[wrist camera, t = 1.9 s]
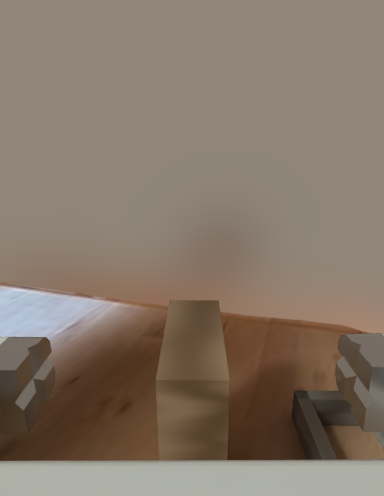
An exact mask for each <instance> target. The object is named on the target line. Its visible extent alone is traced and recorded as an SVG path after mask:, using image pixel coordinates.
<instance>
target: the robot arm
mask: <svg viewBox="0 0 384 496" xmlns="http://www.w3.org/2000/svg"><path fill="white" fill-rule="evenodd" d="M338 350H339V351H340V353H341V354H342V355H343V356H342V357H341V358H340V359H339V360H338V361H337V363H336V372H335V375H336V382H337V386H338V389H339V392H340V393H341V395H342V397H343V399H345V400H347V401H348V402H350V403H351V404H352V406H351V412H352V414H353V415H354V417H355V419H356V420H357V422H358V424H359V425H360V427H361V429H362V430H363V431H368V432H384V333H376V334H347V335H341V336H340V339H339V343H338ZM51 352H52V351H51V346H50V341H49V340H48V339H47V338H46V337H0V434H12V433H28V431H29V430H30V428H31V426H32V425H33V423H34V421H35V420H36V418H37V417H38V415H39V413H40V412H39V406H40V405H41V404H43V403H44V402H46V401H47V400H48V398H49V396H50V395H51V393H52V389H53V386H54V382H55V371H54V365H53V364H52V363H51V362H50V361H49V360H48V359H47V358H48V356H49V355H50V353H51ZM0 496H384V460H136V461H0Z"/></svg>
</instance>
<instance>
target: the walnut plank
mask: <svg viewBox="0 0 384 496" xmlns="http://www.w3.org/2000/svg"><path fill="white" fill-rule="evenodd" d="M229 391H230V378H229V371H228V364H227V357H226V350H225V343H224V336H223V329H222V322H221V315H220V308H219V301H170V303H169V308H168V314H167V319H166V325H165V330H164V336H163V341H162V347H161V353H160V358H159V364H158V369H157V375H156V403H157V425H158V448H159V460H228V426H229Z"/></svg>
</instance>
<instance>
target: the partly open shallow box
mask: <svg viewBox="0 0 384 496" xmlns="http://www.w3.org/2000/svg"><path fill="white" fill-rule="evenodd" d="M351 406H352V404H351V403H350V402H348V401H347V400H345V399H343V397H342V395H341V393H340V392H339V391H294V400H293V411H292V417H293V420H294V423H295V425H296V428H297V431H298V434H299V437H300V439H301V442H302V445H303V448H304V451H305V453H306V456H307V459H308V460H338V459H337V457H336V454H335V452H334V450H333V448H332V446H331V443H330V441H329V439H328V437H327V435H326V432H325V430H324V428H323V426H322V425H359V424H358V422H357V420H356V419H355V417H354V415H353V414H352V412H351ZM374 433H375V435H376V436H377V438H378V440H379V441H380V443H381V444H382V446H383V448H384V432H374Z"/></svg>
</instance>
